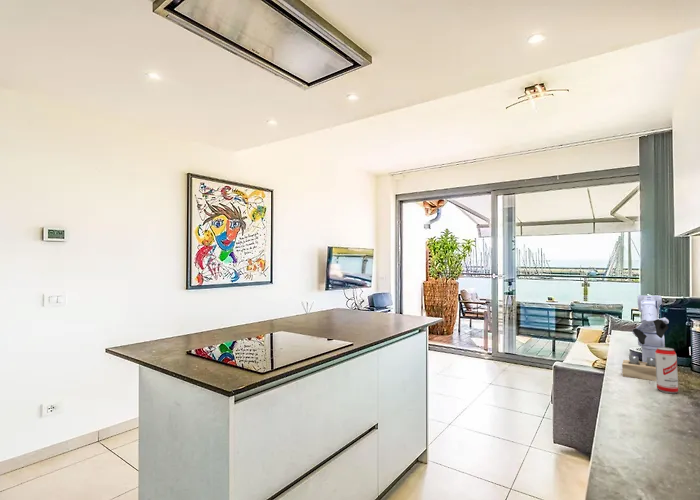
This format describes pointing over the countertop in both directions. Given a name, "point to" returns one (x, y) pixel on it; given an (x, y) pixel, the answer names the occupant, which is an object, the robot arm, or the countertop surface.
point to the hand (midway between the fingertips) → (650, 339)
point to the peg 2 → (651, 362)
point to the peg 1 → (634, 360)
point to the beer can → (666, 370)
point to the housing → (638, 370)
